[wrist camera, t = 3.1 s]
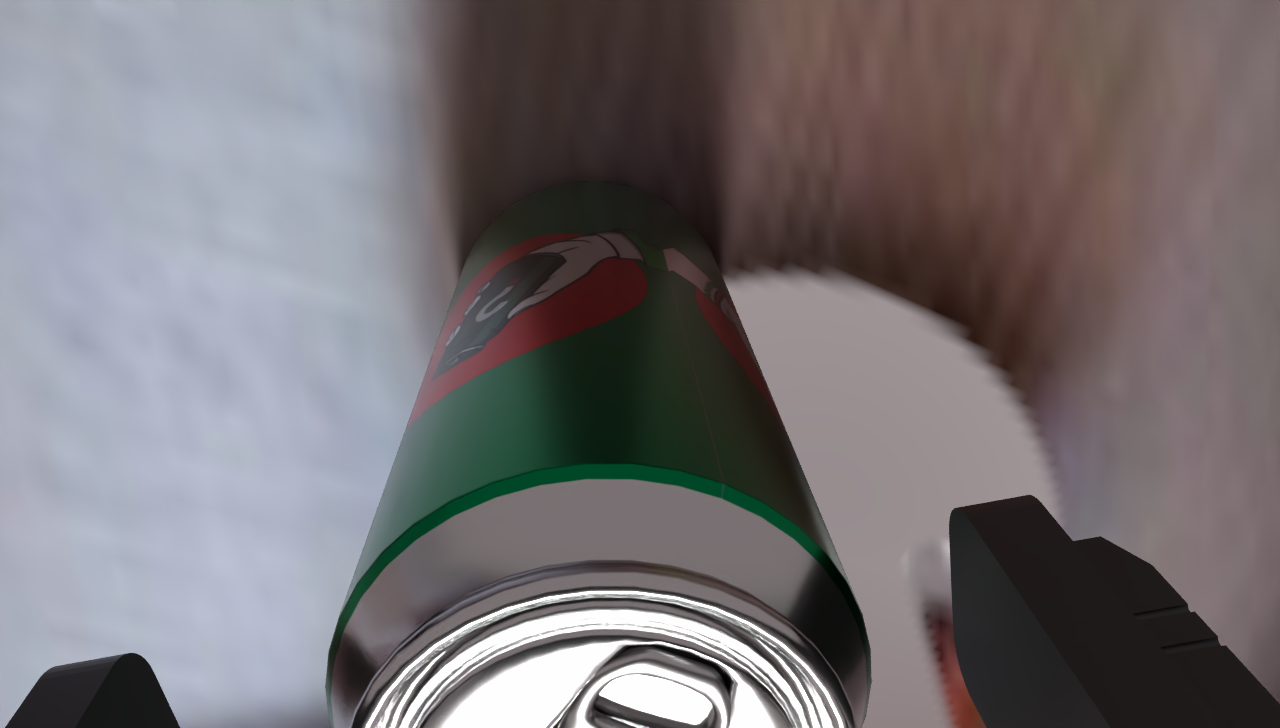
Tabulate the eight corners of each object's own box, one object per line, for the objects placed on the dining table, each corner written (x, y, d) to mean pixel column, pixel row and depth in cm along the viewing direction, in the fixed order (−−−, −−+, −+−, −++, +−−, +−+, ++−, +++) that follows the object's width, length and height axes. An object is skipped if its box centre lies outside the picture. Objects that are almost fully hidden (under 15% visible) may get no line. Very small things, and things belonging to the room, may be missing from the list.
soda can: (422, 365, 20) (218, 921, 8) (518, 128, 18) (418, 441, 7) (654, 453, 21) (737, 1047, 10) (766, 238, 19) (1025, 662, 8)
